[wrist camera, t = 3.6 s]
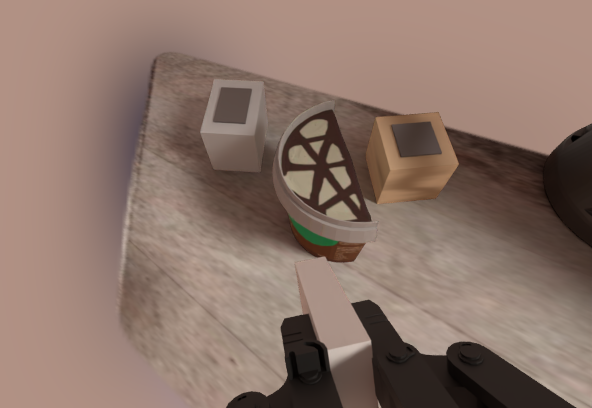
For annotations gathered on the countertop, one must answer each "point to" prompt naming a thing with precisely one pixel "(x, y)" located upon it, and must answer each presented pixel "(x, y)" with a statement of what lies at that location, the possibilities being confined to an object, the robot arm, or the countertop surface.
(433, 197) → the oak block
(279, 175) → the food container
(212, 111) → the grey painted block
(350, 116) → the countertop surface
